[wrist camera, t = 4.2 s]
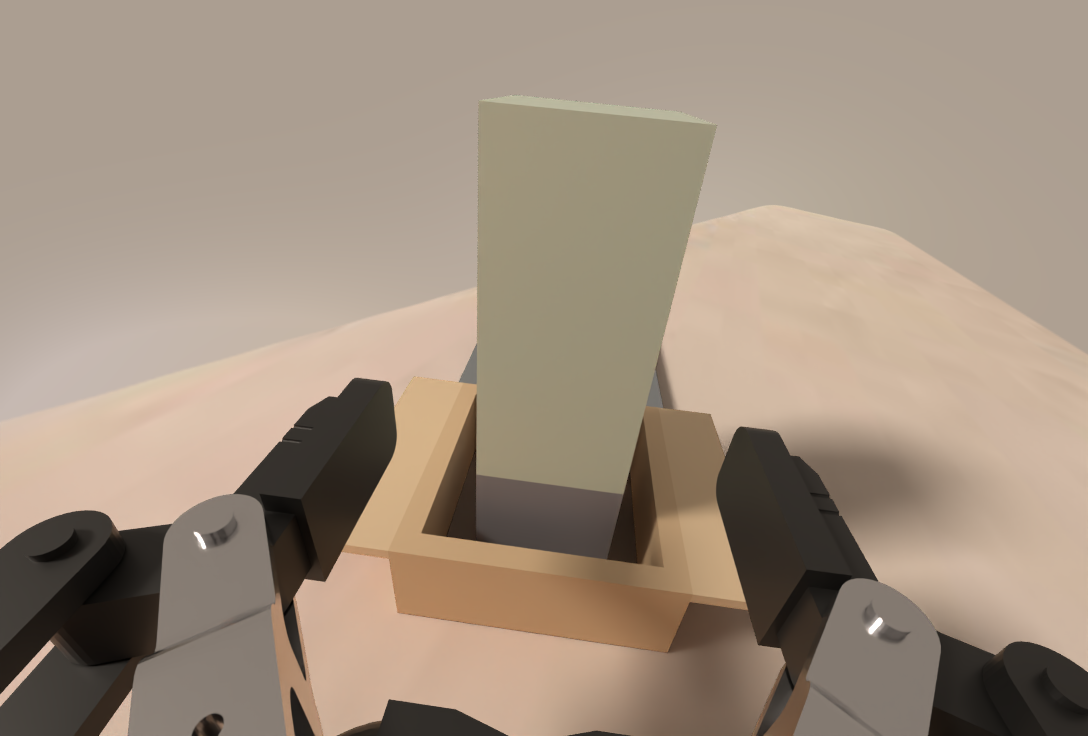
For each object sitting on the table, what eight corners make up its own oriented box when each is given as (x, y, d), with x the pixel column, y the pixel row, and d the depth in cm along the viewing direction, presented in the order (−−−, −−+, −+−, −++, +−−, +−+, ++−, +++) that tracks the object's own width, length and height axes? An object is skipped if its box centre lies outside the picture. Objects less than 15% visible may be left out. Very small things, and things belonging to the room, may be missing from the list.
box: (600, 487, 22) (680, 111, 14) (601, 582, 18) (716, 125, 9) (498, 474, 22) (514, 95, 14) (475, 564, 18) (478, 100, 10)
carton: (692, 466, 24) (710, 414, 22) (739, 663, 16) (775, 606, 14) (418, 430, 25) (413, 376, 23) (329, 602, 16) (311, 539, 15)
